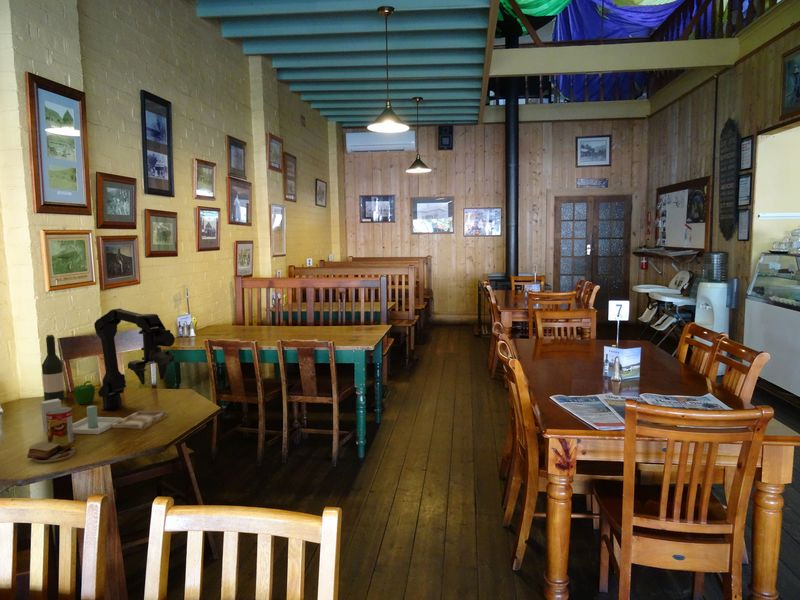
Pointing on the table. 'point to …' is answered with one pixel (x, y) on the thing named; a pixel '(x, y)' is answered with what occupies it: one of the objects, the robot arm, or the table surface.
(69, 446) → the toy sandwich meal
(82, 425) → the white rimmed platter
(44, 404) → the skincare box
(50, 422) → the canned food
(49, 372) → the wine bottle
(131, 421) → the tray
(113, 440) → the table surface
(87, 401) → the bell pepper
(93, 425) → the pin
